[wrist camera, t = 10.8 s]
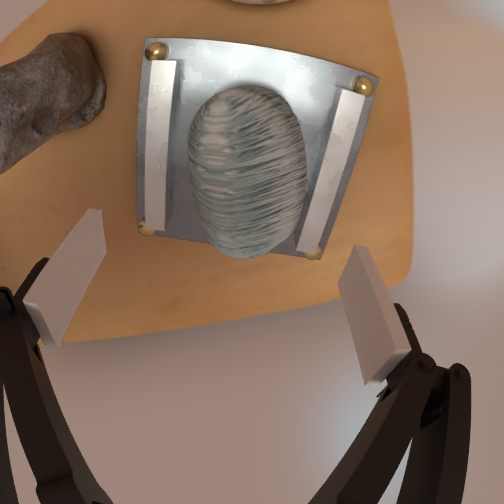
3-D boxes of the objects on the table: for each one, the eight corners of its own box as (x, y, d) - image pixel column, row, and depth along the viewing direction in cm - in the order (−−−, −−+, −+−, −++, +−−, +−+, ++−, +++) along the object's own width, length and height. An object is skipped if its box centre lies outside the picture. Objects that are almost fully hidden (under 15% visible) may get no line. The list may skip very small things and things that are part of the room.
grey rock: (312, 250, 28) (266, 297, 20) (224, 227, 32) (157, 258, 23) (332, 100, 22) (291, 74, 14) (234, 94, 26) (162, 80, 18)
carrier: (141, 226, 32) (132, 242, 30) (149, 38, 20) (137, 37, 18) (318, 253, 34) (322, 270, 31) (374, 76, 22) (387, 79, 19)
